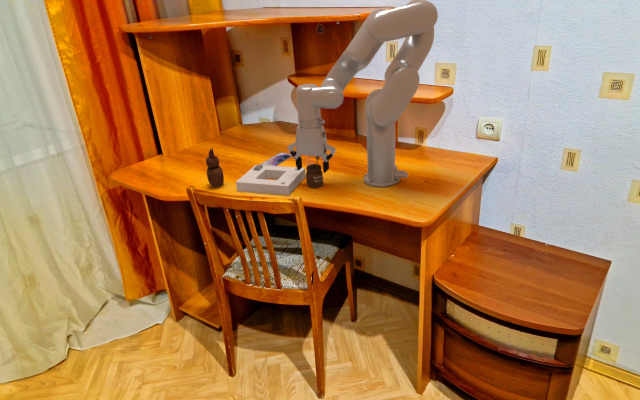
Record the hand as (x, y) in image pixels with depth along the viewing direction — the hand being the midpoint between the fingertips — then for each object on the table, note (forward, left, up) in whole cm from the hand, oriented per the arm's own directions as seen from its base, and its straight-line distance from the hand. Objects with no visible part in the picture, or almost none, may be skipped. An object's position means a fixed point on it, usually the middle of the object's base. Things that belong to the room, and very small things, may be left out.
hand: (312, 170), depth 158 cm
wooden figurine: (+35, +7, -6) cm, 37 cm away
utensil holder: (-1, 0, -6) cm, 6 cm away
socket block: (+15, +2, -6) cm, 17 cm away
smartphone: (+23, -20, -6) cm, 32 cm away
